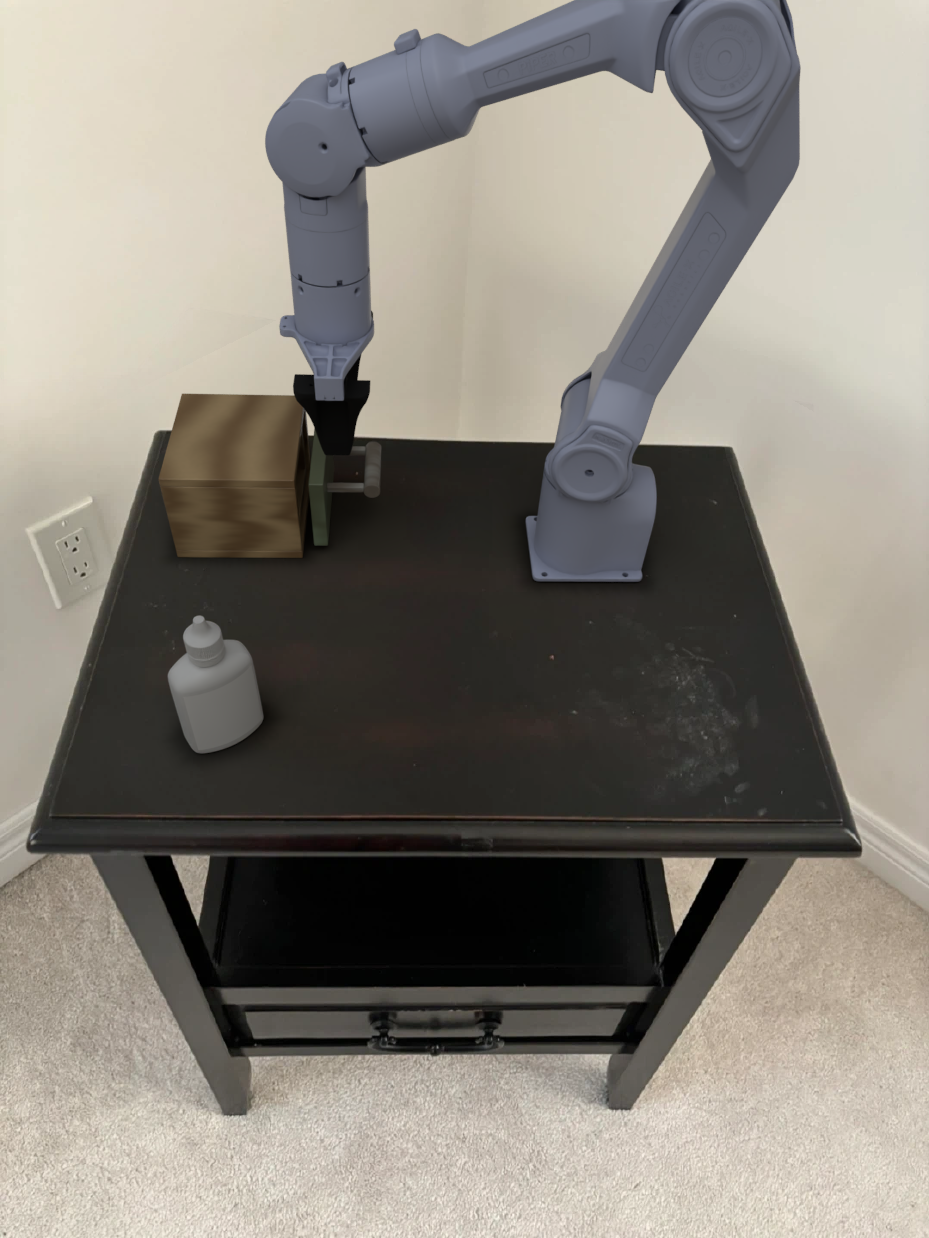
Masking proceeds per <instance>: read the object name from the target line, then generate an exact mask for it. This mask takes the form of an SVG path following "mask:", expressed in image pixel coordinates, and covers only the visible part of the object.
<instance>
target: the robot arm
mask: <svg viewBox="0 0 929 1238" xmlns="http://www.w3.org/2000/svg"><path fill="white" fill-rule="evenodd" d="M791 12H792V11H791V10H790V7H789V4H788V2H787V0H571V1H568V2H567V3H564V4H562V5H560V6H557V7H556V8H553V9H551V10H548V11H546V12H544V13H542V14H539V15H538V16H535V17H533V18H530V19H528V20H525V21H524V22H521V23H519V24H517V25H515V26H512V27H510V28H508V29H505V30H503V31H501V32H499V33H496V34H494V35H491V36H490V37H487V38H485V39H482V40H480V41H478V42H476V43H474V44H472V45H469V46H468V45H464V44H462V43H461V42H458V41H456V40H455V39H452V38H451V37H449V36H447V35H445V34H443V33H441V32H440V33H439V32H438V33H433V34H431V35H429V36H426V37H424V38H421V34H420V32H419V30H418V29H417V28H413V29H410V30H408V31H406V32H403V33H401V34H399V36H398V37H397V38H396V40H395V41H394V42H393V47H394V49H393V50H392V51H389V52H386V53H384V54H383V53H382V54H381V55H379V56H376V57H373V58H371V59H369V60H367V61H364V62H361V63H357V64H356V65H353V66H351V67H347V65H346V62H344V61H339V62H337V63H335V64H332V65H331V66H329V68H328V69H327V70H326V71H325V73H317V74H313V75H310V76H309V77H307V78H305V79H304V80H303V81H301V82H300V84H299V85H298V86H297V87H296V88H295V89H294V90H293V91H292V92H291V94H290V95H289V96H288V97H287V98H286V99H285V100H284V102H282V104H281V105H280V106H279V107H278V109H276V111H275V112H274V114H273V115H272V117H271V119H270V120H269V123H268V125H267V127H266V130H265V137H264V146H265V153H266V157H267V160H268V163H269V165H270V167H271V169H272V171H273V173H275V175H276V176H277V178H278V179H279V180H280V181H281V182H282V193H283V194H282V195H283V211H284V222H285V233H286V242H287V243H286V244H287V253H288V263H289V272H290V273H289V274H290V284H291V293H292V294H291V295H292V303H293V305H292V307H293V313H294V314H286V315H283V316H281V318H280V319H279V320H280V321H279V325H278V327H279V328H278V329H279V335H280V336H282V337H283V338H292V339H295V341H296V343H297V345H298V347H299V349H300V351H301V353H302V355H303V356H304V358H305V360H306V362H307V364H308V366H309V368H310V370H311V371H312V374H307V373H306V374H301V373H300V374H299V373H295V374H294V377H293V384H292V390H293V395H294V396H295V398H296V400H297V402H298V403H299V404H300V405H301V406H302V407H303V408H304V410H305V411H306V415H307V416H308V418H309V419H310V421H311V423H312V426H313V428H315V431H316V434H317V437H318V440H319V443H320V445H321V448H322V450H323V452H324V454H325V455H333V456H345V457H346V456H351V455H350V453H351V450H352V446H354V441H355V435H356V427H357V422H358V419H359V416H360V414H361V411H362V410H363V408H364V406H365V405H366V404H367V402H368V400H369V397H370V393H371V380H370V379H369V380H368V379H359V371H360V363H361V358H362V353H364V351H365V349H366V348H367V347H368V345H369V344H370V343H371V341H372V340H373V338H374V335H375V320H374V312H373V310H372V294H371V292H372V291H371V288H372V287H371V264H370V262H371V261H370V257H371V256H370V228H369V227H370V225H369V223H370V222H369V203H368V197H367V170H366V169H367V168H376V167H381V166H384V165H387V164H389V163H392V162H395V161H398V160H401V159H405V158H406V157H409V156H413V155H415V154H419V153H422V152H425V151H427V150H430V149H433V148H436V147H439V146H442V145H444V144H447V143H451V142H453V141H456V140H458V139H461V138H465V137H467V136H468V135H469V134H470V133H471V131H472V129H473V127H474V125H475V122H476V120H477V118H478V115H479V112H480V110H481V108H483V107H486V106H490V105H494V104H496V103H501V102H504V101H506V100H510V99H514V98H517V97H520V96H524V95H527V94H530V93H534V92H537V91H540V90H544V89H548V88H550V87H554V86H557V85H561V84H563V83H567V82H571V81H573V80H577V79H580V78H584V77H587V76H591V75H593V74H597V73H600V72H609V73H611V74H613V75H615V76H616V77H619V78H620V79H622V80H623V81H626V82H627V83H628V84H631V85H633V86H635V87H636V88H638V89H640V90H642V91H644V92H646V93H649V94H654V89H655V81H656V73H657V71H660V72H664V76H665V80H666V84H667V86H668V88H669V91H670V92H671V94H672V96H673V98H674V99H675V100H676V102H677V103H678V105H679V106H680V107H681V108H682V110H683V111H684V112H685V113H686V114H687V115H688V116H689V117H690V119H691V120H692V121H693V122H694V123H695V125H697V126H698V128H699V129H700V130H701V133H702V136H703V140H704V143H705V145H706V149H707V151H708V154H709V157H710V159H709V161H708V163H707V165H706V167H705V169H704V171H703V172H702V174H701V176H700V178H699V180H698V181H697V182H696V183H697V184H696V185H695V187H694V189H693V190H692V192H691V194H690V196H689V198H688V200H687V201H686V203H685V205H684V207H683V209H682V211H681V213H680V215H679V216H678V218H677V220H676V222H675V223H674V225H673V227H672V229H671V231H670V232H669V234H668V236H667V238H666V240H665V241H664V244H663V245H662V247H661V249H660V251H659V253H658V255H657V257H656V258H655V260H654V262H653V264H652V265H651V268H650V269H649V271H648V273H647V275H646V276H645V278H644V280H643V282H642V283H641V286H640V287H639V289H638V291H637V293H636V295H635V297H634V298H633V300H632V302H631V304H630V306H629V308H628V309H627V311H626V312H625V315H624V317H623V318H622V320H621V322H620V324H619V326H618V328H617V329H616V330H615V333H614V335H613V337H612V338H611V340H610V342H609V344H608V346H607V348H606V349H605V350H604V351H601V352H598V353H597V355H596V356H595V358H594V360H593V362H592V363H591V365H590V366H589V367H588V368H587V370H585V371H584V372H583V373H582V374H580V375H578V376H577V377H575V378H573V380H572V381H570V383H568V385H567V386H566V387H565V388H564V390H563V393H562V396H561V399H560V414H559V420H558V425H557V430H556V435H555V441H554V445H553V447H552V449H551V450H550V451H549V452H548V454H547V455H546V457H545V459H544V467H543V474H542V480H541V487H540V495H539V502H538V509H537V515H528V516H526V518H525V530H526V537H527V546H528V553H529V562H530V570H531V576H532V579H533V580H534V581H536V582H574V583H575V582H577V583H578V582H582V583H583V582H589V583H591V582H593V583H594V582H596V583H598V582H599V583H600V582H601V583H602V582H603V583H604V582H605V583H606V582H607V583H608V582H609V583H610V582H611V583H614V582H615V583H616V582H618V583H622V582H623V583H638V582H641V581H642V579H643V572H642V568H643V564H644V561H645V558H646V554H647V549H648V546H649V542H650V538H651V535H652V532H653V528H654V524H655V519H656V514H657V501H658V500H657V499H658V498H657V496H658V495H657V483H656V478H655V474H654V473H655V472H654V471H653V469H652V468H651V467H650V466H647V465H641V464H637V463H633V457H634V454H635V452H636V450H637V449H638V447H639V445H640V444H641V442H642V440H643V437H644V434H645V431H646V429H647V426H648V423H649V420H650V416H651V414H652V411H653V408H654V405H655V402H656V399H657V398H658V396H659V394H660V392H661V390H662V389H663V388H664V386H665V384H666V383H667V381H668V380H669V378H670V376H671V375H672V373H673V371H674V370H675V368H676V366H677V365H678V363H679V362H680V361H681V359H682V357H683V356H684V354H685V352H686V351H687V349H688V348H689V346H690V344H691V342H692V341H693V339H695V336H696V334H697V333H698V332H699V330H700V328H701V327H702V325H703V324H704V323H705V320H706V319H707V317H708V315H709V314H710V312H711V311H712V309H713V308H714V306H715V304H716V303H717V302H718V300H719V298H720V296H721V295H722V293H723V292H724V290H725V289H726V287H727V285H728V283H730V281H731V278H732V277H733V276H734V274H735V273H736V271H737V269H739V266H740V265H741V263H742V262H743V260H744V258H745V257H746V255H747V254H748V252H749V250H750V249H751V247H752V245H753V243H754V242H755V241H756V239H757V237H758V236H759V235H760V233H761V232H762V229H763V227H764V226H765V225H766V223H767V221H768V220H769V218H770V217H771V215H772V213H773V212H774V210H775V209H776V207H777V205H778V204H779V202H780V201H781V199H782V197H783V195H784V194H785V193H786V191H787V190H788V189H789V186H790V184H791V183H792V182H793V180H794V178H795V176H796V174H797V172H798V168H799V166H800V160H801V146H800V145H801V144H800V143H801V138H800V135H801V134H800V131H801V128H800V127H801V126H800V124H801V121H800V119H801V118H800V115H801V113H800V109H801V108H800V107H801V106H800V105H801V104H800V103H801V101H800V81H801V62H800V57H799V54H798V51H797V45H796V39H795V30H794V29H795V28H794V20H793V15H792V13H791Z"/></svg>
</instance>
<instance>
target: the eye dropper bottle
mask: <svg viewBox="0 0 929 1238" xmlns="http://www.w3.org/2000/svg"><path fill="white" fill-rule="evenodd" d="M182 639H183V644H184V648H185V651H186V653H184V654H183V655H182V656H181V657H180V658H178V659H177V660H176V662H175V663H174V664H173V665H172V667H170V668H169V670H168V672H167V682H168V685H169V689H170V694H171V697H172V700H173V703H174V707H175V710H176V714H177V716H178V717H177V718H178V720H179V723H180V726H181V730H182V734H183V736H184V738H185V740H186V742H187V743H188V746H189V747H190V748H191V749H192V751H194V752H195V753H197V754H208V753H209V754H210V753H214V752H218V751H222V750H226V749H227V748H230V747H233V746H234V745H236V744H239V743H241V742H242V741H243V740H245V739H246V738H248V737H249V736H250V735H252V734H253V733H254V732H255V731H256V730H257V729H258V728H259V727H260V726H261V724H262V723H263V720H264V710H263V705H262V700H261V695H260V690H259V684H258V680H257V679H258V678H257V674H256V669H255V665H254V660H253V657H252V654H251V653H250V651H249V650H248V648H247V647H246V646H245V644H244V643H242V641H240V640H236V639H224V637H223V633H222V629H221V627H220V626H219V625H218V624H217V623H215V622H213V621H210V620H206V619H205V617H204V616H203V615H196V616H194V617H193V619H192V623H191V624H190V625H188V626H187V627H186V628H185V630H184V632H183V635H182Z"/></svg>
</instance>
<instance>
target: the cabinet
mask: <svg viewBox="0 0 929 1238" xmlns="http://www.w3.org/2000/svg"><path fill="white" fill-rule="evenodd" d="M307 417H308V415H307V412H306V411H305V410H304V408H303V407H302V406H301V405H300V404H299V403H298V402H297V400H296V398H295V396H294V394H292V395H289V394H234V393H233V394H231V393H229V394H227V393H181V396H180V399H179V403H178V406H177V410H176V414H175V417H174V421H173V425H172V429H171V431H170V436H169V439H168V442H167V447H166V450H165V454H164V457H163V461H162V465H161V468H160V470H159V475H158V483H159V487H160V491H161V496H162V499H163V504H164V508H165V511H166V515H167V520H168V523H169V527H170V532H171V536H172V540H173V544H174V548H175V552H176V555H177V558H229V559H230V558H233V559H235V558H237V559H238V558H240V559H241V558H243V559H244V558H247V559H249V558H250V559H251V558H253V559H255V558H257V559H263V558H264V559H303V557H304V549H305V539H306V530H307V520H308V511H309V510H308V509H309V504H310V497H309V486H308V483H309V474H310V465H311V450H310V440H309V439H310V437H309V429H308V418H307ZM302 430H303V440H304V450H305V461H306V480H305V489H304V498H303V507H302V516H301V525H300V518H299V508H298V499H297V490H296V483H295V482H296V474H297V466H298V458H299V450H300V442H301V433H302Z"/></svg>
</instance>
